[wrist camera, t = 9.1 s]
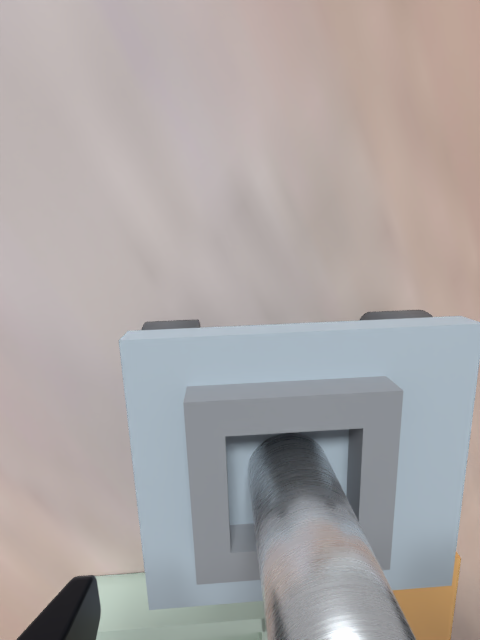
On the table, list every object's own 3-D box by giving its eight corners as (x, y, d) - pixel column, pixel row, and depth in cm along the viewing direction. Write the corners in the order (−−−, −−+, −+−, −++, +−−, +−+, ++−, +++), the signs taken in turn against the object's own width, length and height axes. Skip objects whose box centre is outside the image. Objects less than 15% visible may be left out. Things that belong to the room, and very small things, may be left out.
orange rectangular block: (401, 611, 18) (443, 696, 15) (324, 617, 18) (348, 705, 15) (412, 493, 17) (460, 558, 13) (328, 499, 17) (356, 566, 13)
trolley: (388, 491, 16) (472, 616, 11) (169, 505, 16) (142, 644, 11) (401, 296, 14) (512, 333, 9) (151, 307, 14) (107, 351, 9)
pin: (328, 502, 11) (475, 861, 5) (247, 508, 11) (285, 882, 5) (330, 428, 10) (500, 722, 4) (244, 433, 10) (284, 745, 4)
